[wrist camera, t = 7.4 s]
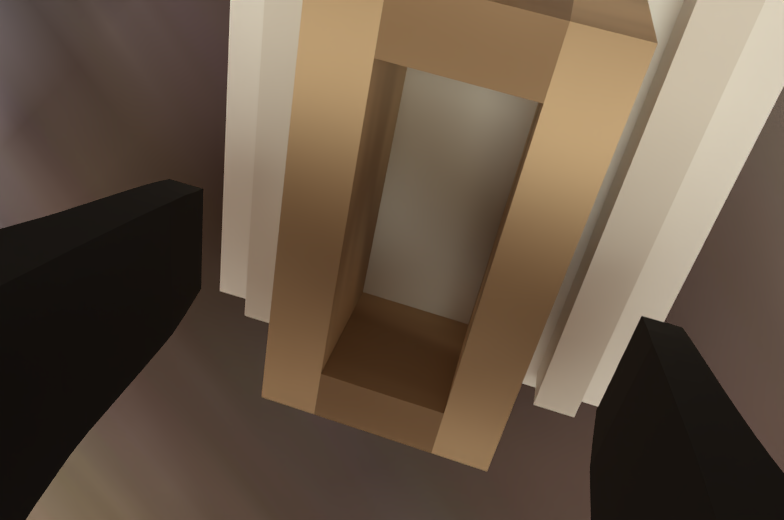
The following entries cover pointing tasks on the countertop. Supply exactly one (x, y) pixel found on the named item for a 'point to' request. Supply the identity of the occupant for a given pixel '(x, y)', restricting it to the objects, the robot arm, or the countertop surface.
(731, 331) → the countertop surface
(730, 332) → the countertop surface
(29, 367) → the robot arm
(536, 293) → the frame
